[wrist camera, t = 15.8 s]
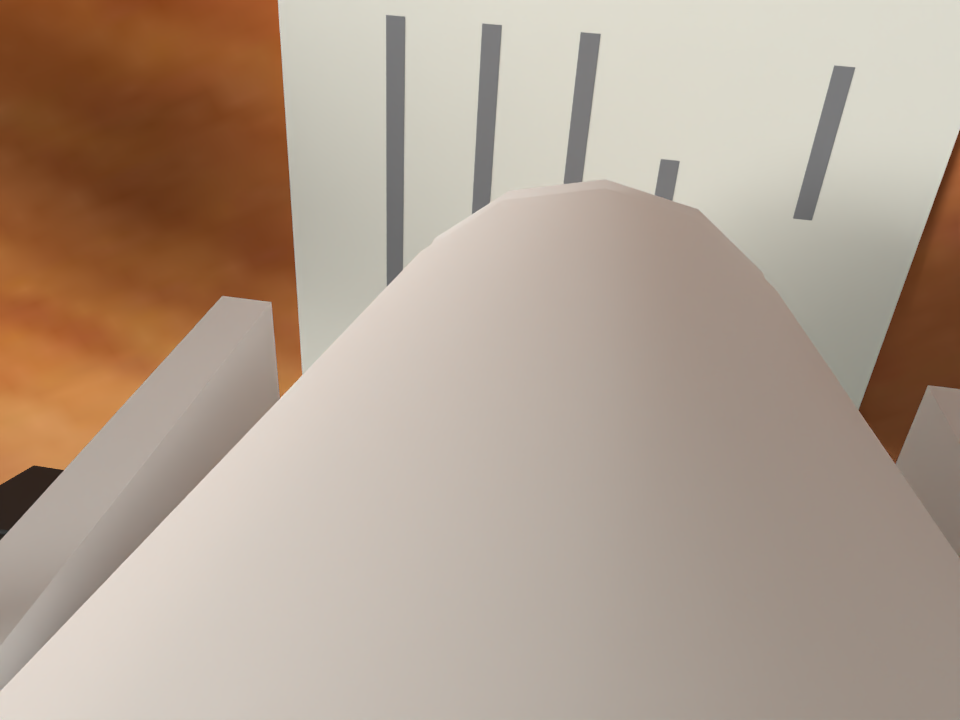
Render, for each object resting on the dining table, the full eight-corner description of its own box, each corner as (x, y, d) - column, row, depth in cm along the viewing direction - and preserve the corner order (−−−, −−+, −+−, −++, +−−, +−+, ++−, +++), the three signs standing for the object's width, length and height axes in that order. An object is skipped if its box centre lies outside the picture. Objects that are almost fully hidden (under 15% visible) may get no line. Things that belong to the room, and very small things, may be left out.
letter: (832, 474, 22) (833, 479, 21) (306, 402, 23) (304, 407, 23) (1014, -37, 15) (1019, -35, 15) (275, -94, 17) (271, -93, 16)
